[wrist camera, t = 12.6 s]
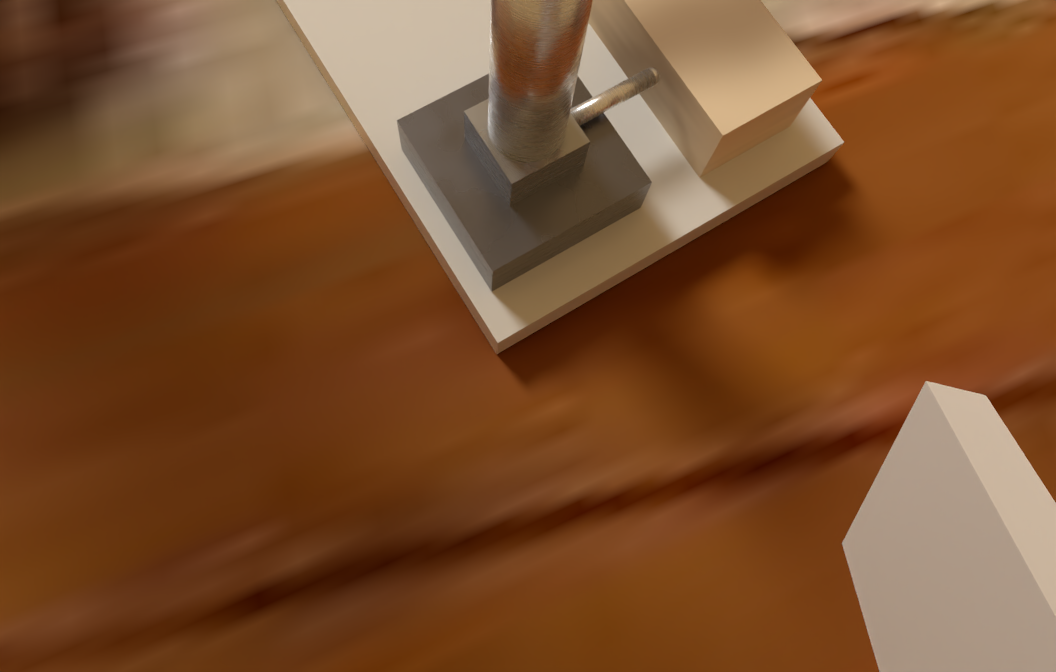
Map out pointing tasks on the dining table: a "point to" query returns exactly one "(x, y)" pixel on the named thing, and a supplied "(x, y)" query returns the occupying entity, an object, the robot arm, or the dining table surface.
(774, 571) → the dining table surface
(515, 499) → the dining table surface
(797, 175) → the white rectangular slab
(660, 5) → the oak board
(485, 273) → the surface gauge
